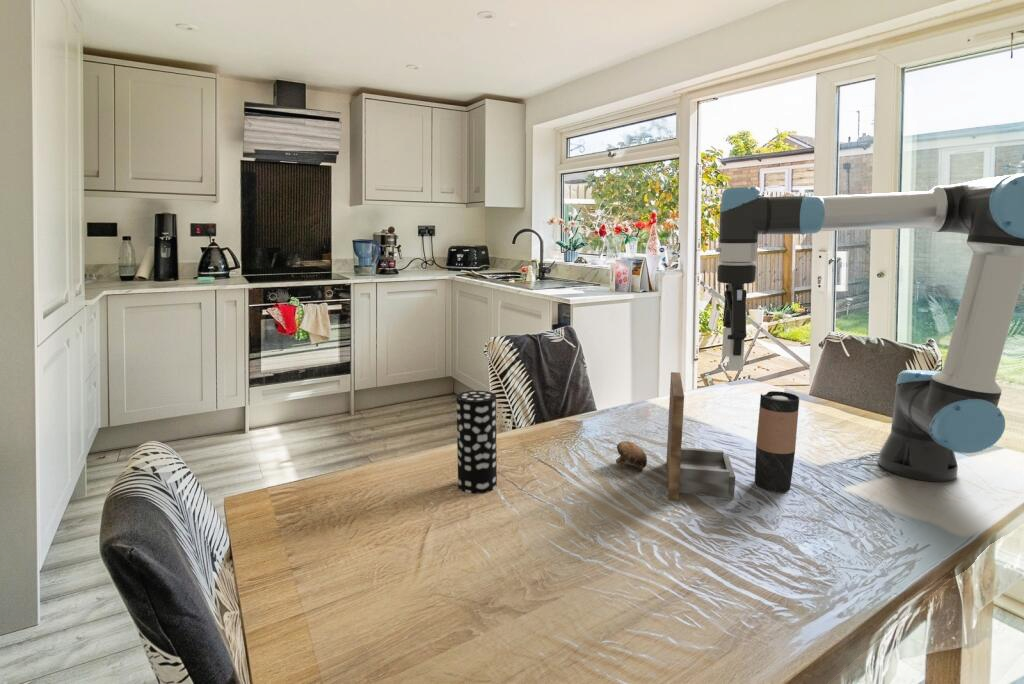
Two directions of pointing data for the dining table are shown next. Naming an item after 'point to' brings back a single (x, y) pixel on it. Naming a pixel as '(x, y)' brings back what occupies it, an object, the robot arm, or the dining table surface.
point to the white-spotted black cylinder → (476, 441)
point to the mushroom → (630, 455)
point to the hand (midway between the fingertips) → (731, 363)
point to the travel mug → (776, 441)
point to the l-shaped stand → (693, 457)
